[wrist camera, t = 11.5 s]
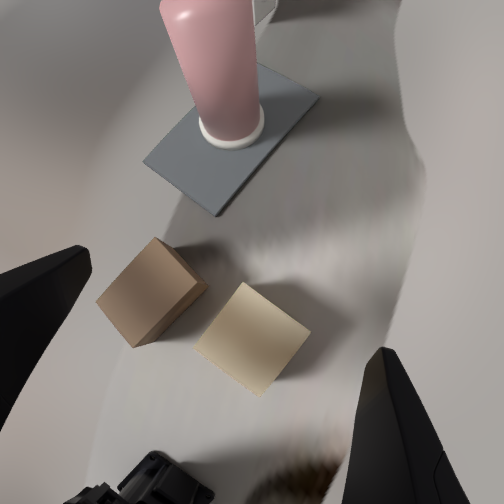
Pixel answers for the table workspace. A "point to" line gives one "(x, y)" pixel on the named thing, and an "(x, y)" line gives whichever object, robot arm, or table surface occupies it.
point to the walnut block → (150, 293)
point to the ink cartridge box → (261, 9)
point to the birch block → (251, 340)
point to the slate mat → (221, 161)
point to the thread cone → (218, 67)
